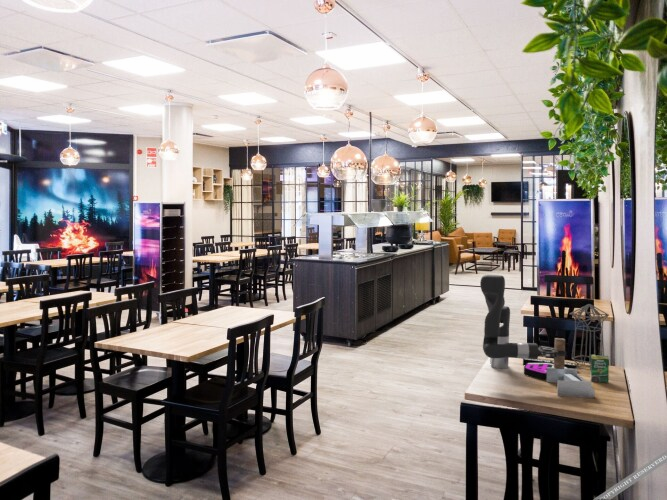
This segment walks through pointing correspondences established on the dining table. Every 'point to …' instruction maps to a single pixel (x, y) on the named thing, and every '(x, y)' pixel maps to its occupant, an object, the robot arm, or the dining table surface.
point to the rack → (569, 383)
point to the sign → (541, 367)
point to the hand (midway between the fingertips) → (564, 352)
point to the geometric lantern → (587, 331)
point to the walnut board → (559, 346)
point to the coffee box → (599, 368)
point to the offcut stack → (570, 377)
